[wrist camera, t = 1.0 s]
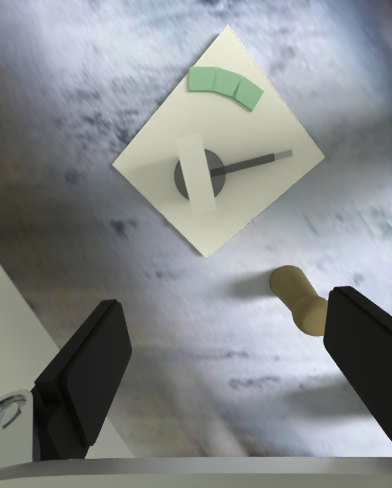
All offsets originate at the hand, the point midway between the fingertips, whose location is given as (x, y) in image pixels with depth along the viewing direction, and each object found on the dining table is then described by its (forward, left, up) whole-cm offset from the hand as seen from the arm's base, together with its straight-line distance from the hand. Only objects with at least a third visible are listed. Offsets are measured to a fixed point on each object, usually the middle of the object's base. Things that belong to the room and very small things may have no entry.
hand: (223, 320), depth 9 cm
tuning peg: (-6, -4, -23) cm, 24 cm away
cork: (-2, +17, -25) cm, 30 cm away
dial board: (-6, -6, -25) cm, 26 cm away
